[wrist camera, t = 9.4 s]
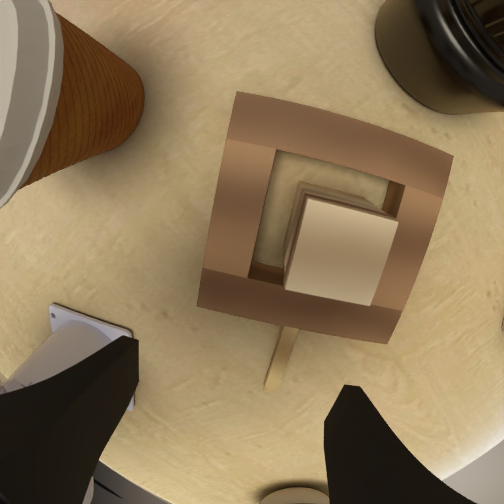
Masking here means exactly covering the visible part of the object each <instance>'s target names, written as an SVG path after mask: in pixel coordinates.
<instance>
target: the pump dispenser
mask: <svg viewBox="0 0 504 504" xmlns="http://www.w3.org/2000/svg"><path fill="white" fill-rule="evenodd" d="M259 504H329V497H328V496H326V495H325V494H324V493H322V492H320V491H318V490H315V489H311V488H304V487H292V488H285V489H281V490H278V491H275V492H273V493H271V494H269V495H268V496H266V497H265V498H264V499H263V500H262V501H261V502H260V503H259Z"/></svg>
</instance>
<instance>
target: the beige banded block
mask: <svg viewBox="0 0 504 504" xmlns="http://www.w3.org/2000/svg"><path fill="white" fill-rule="evenodd" d="M396 220H397V219H396V218H395V217H393V216H392V215H390V214H387V213H385V212H384V211H382V210H381V209H379V208H378V207H377V206H375V205H374V204H372V203H371V202H369V201H368V200H366V199H365V198H363V197H360V196H356V195H352V194H348V193H344V192H341V191H337V190H333V189H329V188H325V187H321V186H316V185H312V184H308V183H304V182H300V181H298V186H297V190H296V195H295V199H294V203H293V208H292V212H291V216H290V220H289V225H288V229H287V233H286V237H285V241H284V246H283V247H284V278H283V286H285V290H290V291H295V292H300V293H305V294H310V295H315V296H320V297H325V298H330V299H335V300H340V301H346V302H351V303H356V304H361V305H367V306H370V305H371V302H372V299H373V297H374V294H375V291H376V289H377V286H378V283H379V280H380V278H381V275H382V272H383V269H384V266H385V263H386V260H387V257H388V254H389V251H390V248H391V245H392V242H393V239H394V236H395V233H396V229H397V226H398V223H399V222H398V221H396Z"/></svg>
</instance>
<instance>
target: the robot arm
mask: <svg viewBox="0 0 504 504" xmlns="http://www.w3.org/2000/svg"><path fill="white" fill-rule="evenodd" d="M54 314H55V315H54ZM49 315H50V323H51V329H52V334H51V335H50V336H49V337H48V338H47V339H46V340H45V341H44V342H43V343H42V344H41V345H40V346H39V347H38V348H37V349H36V350H35V351H34V352H33V353H32V354H31V356H30V357H29V358H28V359H27V360H26V361H25V362H24V363H23V364H22V365H21V366H20V367H19V368H18V369H17V370H16V371H15V372H14V373H13V374H12V375H11V377H10V378H9V379H8V380H7V381H6V382H4V383H2V382H1V381H0V504H90V502H91V500H92V496H93V477H92V475H93V473H94V470H95V467H96V465H97V463H98V460H99V458H100V456H101V454H102V452H103V450H104V448H105V446H106V444H107V443H108V441H109V439H110V437H111V436H112V434H113V432H114V430H115V429H116V427H117V425H118V423H119V422H120V420H121V418H122V416H123V415H124V413H125V411H126V410H128V411H132V410H133V409H134V392H135V390H136V387H137V385H138V382H139V340H137V339H134V338H132V334H131V332H130V331H129V330H127V329H124V328H121V327H118V326H115V325H112V324H109V323H106V322H103V321H100V320H97V319H94V318H91V317H88V316H86V315H83V314H80V313H77V312H75V311H72V310H69V309H67V308H64V307H61V306H59V305H56V304H51V305H50V306H49ZM324 453H325V462H326V471H327V480H328V489H329V504H477V503H475V502H473V501H471V500H469V499H467V498H466V497H464V496H462V495H461V494H459V493H457V492H456V491H454V490H453V489H452V488H450V487H449V486H447V485H446V484H445V483H443V482H442V481H441V480H440V479H438V478H437V477H436V476H435V475H433V474H432V473H431V472H430V471H429V470H428V469H427V468H426V467H425V466H424V465H423V464H421V463H420V462H419V461H418V460H417V459H416V458H415V457H414V456H413V454H412V453H411V452H410V451H409V450H408V449H407V448H406V447H405V445H404V444H403V443H402V442H401V441H400V440H399V438H398V437H397V436H396V435H395V433H394V432H393V431H392V430H391V428H390V427H389V426H388V424H387V423H386V422H385V420H384V419H383V418H382V416H381V415H380V413H379V412H378V411H377V409H376V408H375V406H374V405H373V404H372V402H371V401H370V399H369V398H368V397H367V395H366V394H365V392H364V391H363V390H362V388H361V387H360V386H352V385H344V386H343V388H342V390H341V392H340V394H339V396H338V397H337V399H336V401H335V403H334V405H333V407H332V408H331V410H330V412H329V414H328V416H327V417H326V419H325V421H324Z"/></svg>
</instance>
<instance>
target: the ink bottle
mask: <svg viewBox="0 0 504 504" xmlns="http://www.w3.org/2000/svg"><path fill="white" fill-rule="evenodd" d="M376 39H377V44H378V47H379V50H380V53H381V55H382V57H383V59H384V61H385V63H386V65H387V67H388V68H389V70H390V72H391V73H392V74H393V76H394V77H395V79H396V80H397V81H398V82H399V83H400V85H401V86H402V87H403V88H404V89H405V90H406V91H407V92H408V93H409V94H410V95H412V96H413V97H414V98H415V99H417V100H418V101H419V102H421V103H422V104H424V105H425V106H427V107H429V108H431V109H433V110H435V111H438V112H441V113H445V114H454V115H458V114H471V113H485V112H504V0H386V1H385V2H384V4H383V5H382V7H381V9H380V11H379V13H378V16H377V20H376Z"/></svg>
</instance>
